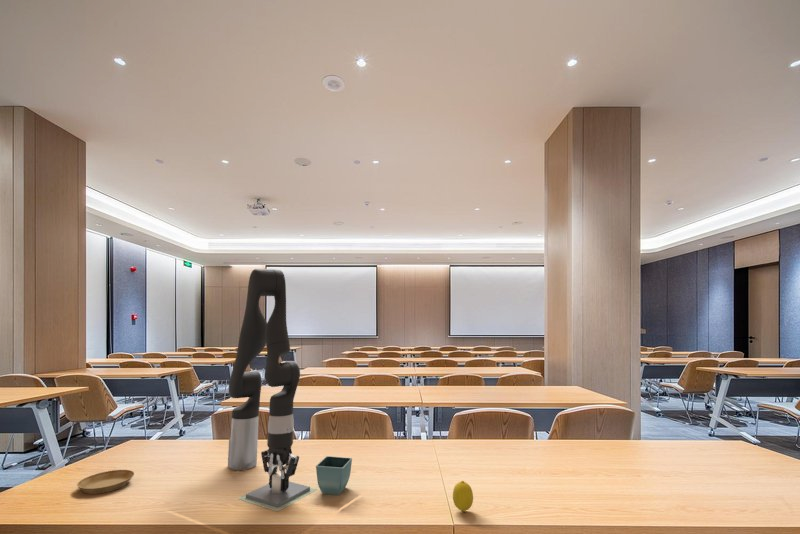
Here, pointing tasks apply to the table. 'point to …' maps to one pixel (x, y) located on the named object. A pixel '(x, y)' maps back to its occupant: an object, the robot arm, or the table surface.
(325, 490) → the flower pot
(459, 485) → the lemon
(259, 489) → the lid
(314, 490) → the mat
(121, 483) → the plant saucer
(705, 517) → the table surface
